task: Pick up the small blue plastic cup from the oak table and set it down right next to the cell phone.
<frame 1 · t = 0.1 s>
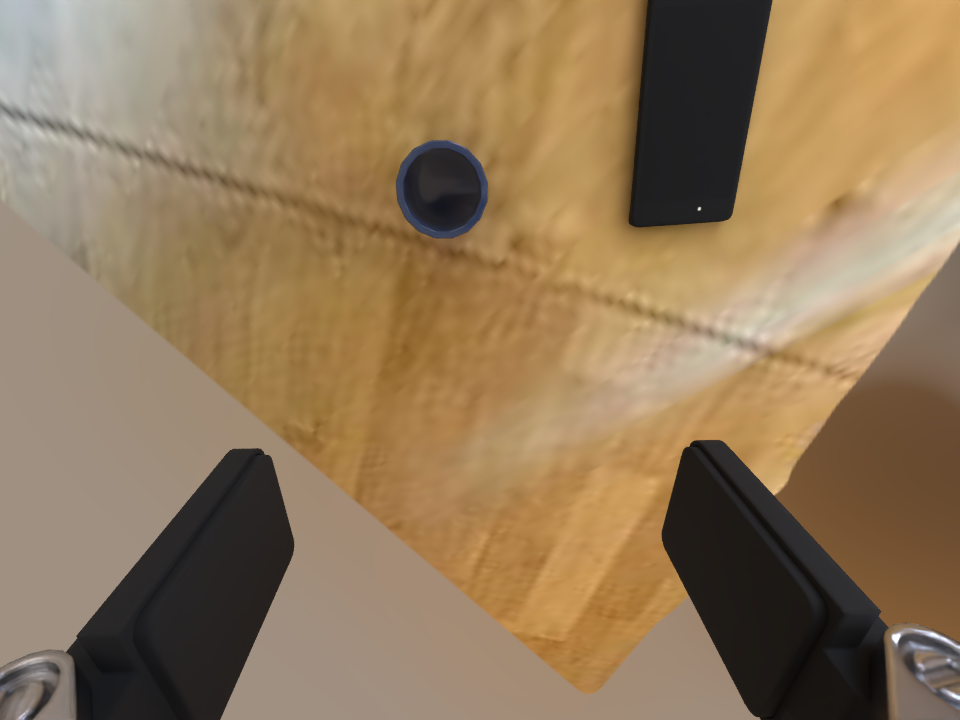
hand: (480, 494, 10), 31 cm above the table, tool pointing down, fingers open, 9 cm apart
blue plastic cup: (445, 187, 35), on the table
cell phone: (690, 106, 33), on the table
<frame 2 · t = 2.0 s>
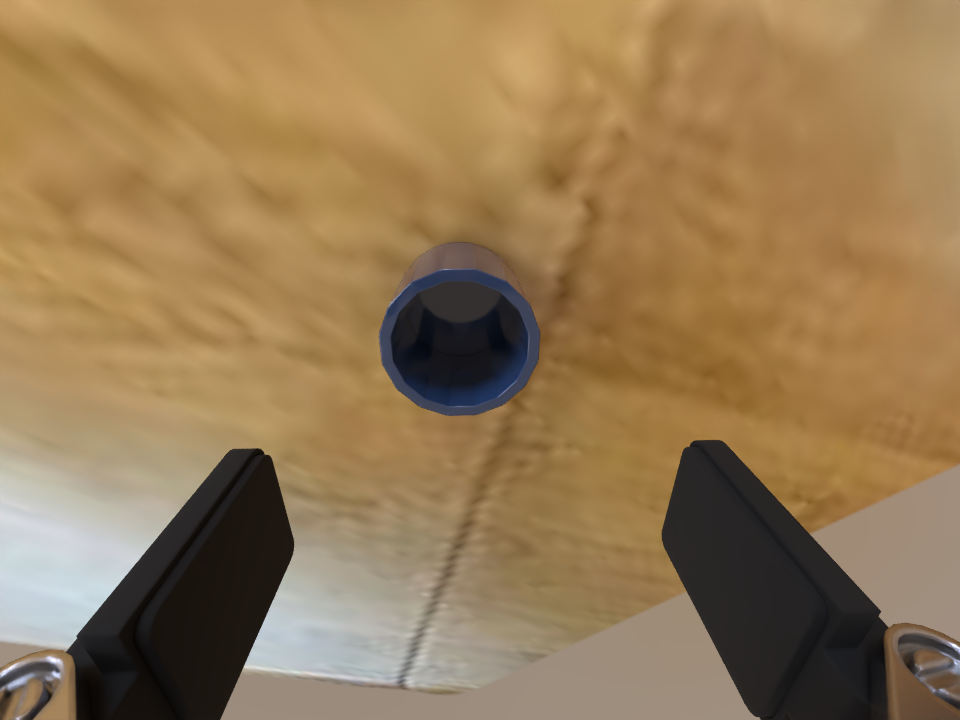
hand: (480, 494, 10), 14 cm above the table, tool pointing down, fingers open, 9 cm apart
blue plastic cup: (460, 304, 23), on the table
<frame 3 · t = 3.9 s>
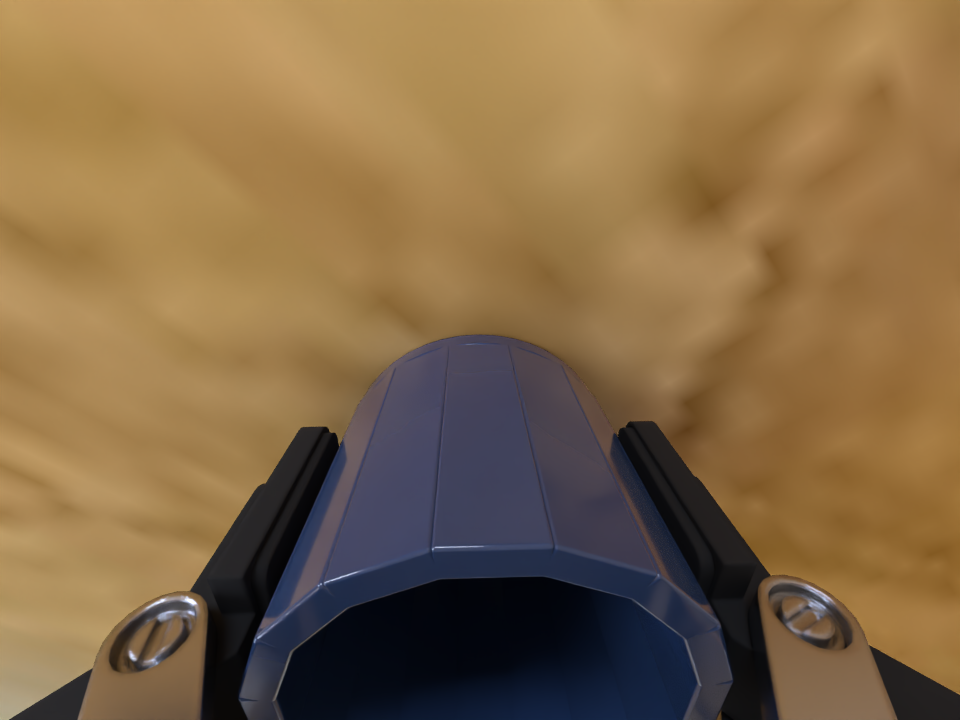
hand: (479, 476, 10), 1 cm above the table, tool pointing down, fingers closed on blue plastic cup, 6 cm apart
blue plastic cup: (478, 447, 11), on the table, touching gripper
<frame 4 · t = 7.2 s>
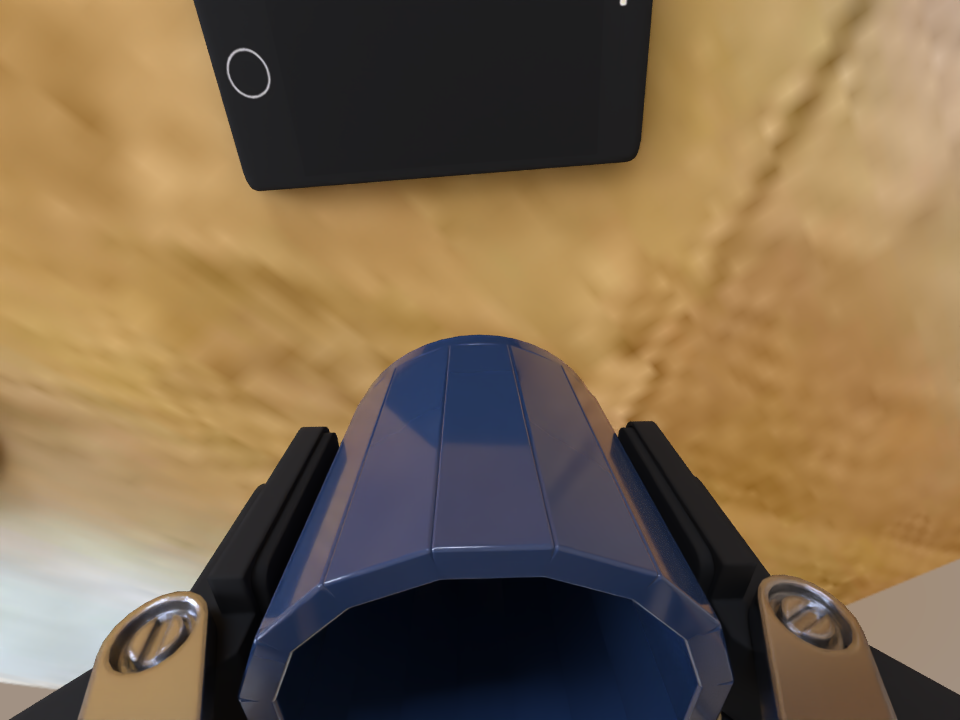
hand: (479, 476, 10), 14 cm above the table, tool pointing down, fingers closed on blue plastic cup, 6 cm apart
blue plastic cup: (478, 447, 11), point 13 cm above the table, touching gripper
cell phone: (434, 65, 18), on the table
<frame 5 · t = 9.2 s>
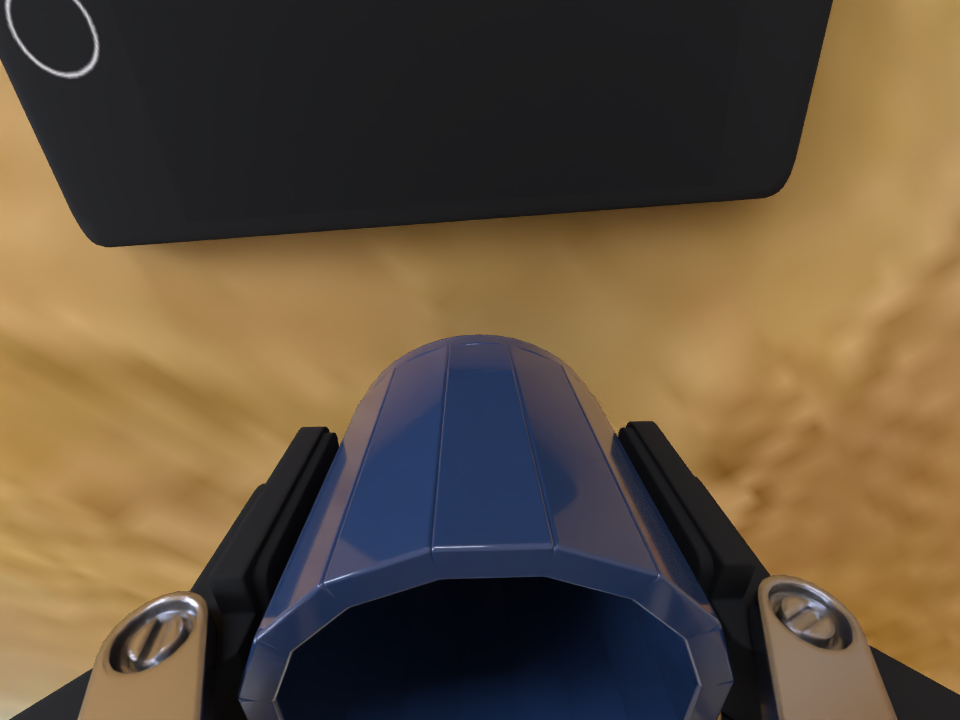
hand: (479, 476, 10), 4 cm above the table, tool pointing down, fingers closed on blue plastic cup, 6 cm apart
blue plastic cup: (478, 447, 11), point 3 cm above the table, touching gripper
cell phone: (421, 19, 10), on the table
when the fingers open (1 cm above the table, at t = 10.5 s): blue plastic cup stays where it is, on the table.
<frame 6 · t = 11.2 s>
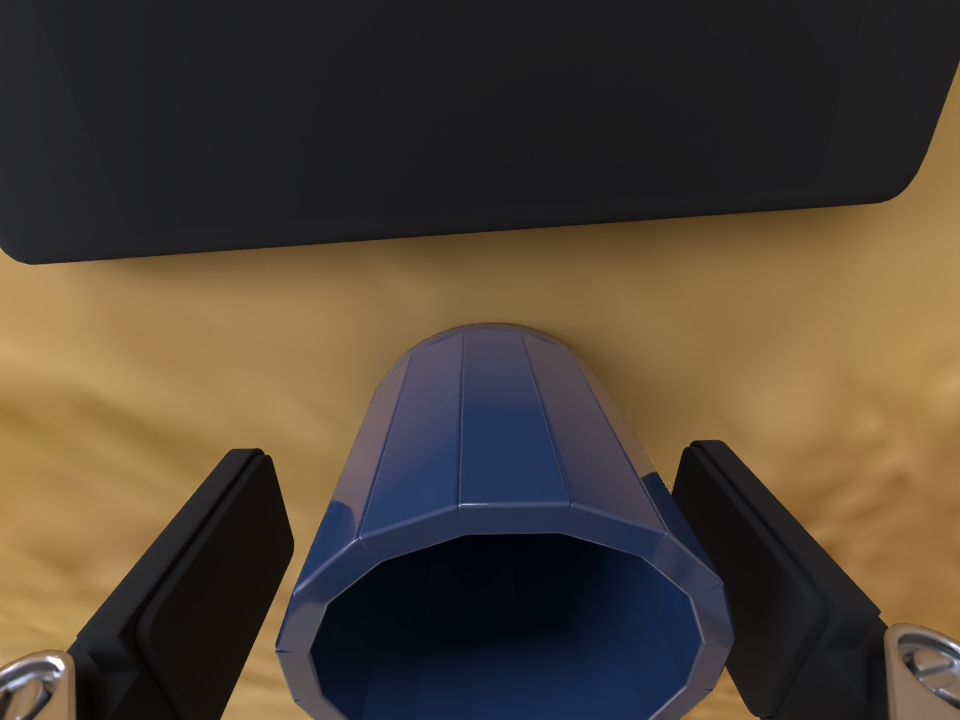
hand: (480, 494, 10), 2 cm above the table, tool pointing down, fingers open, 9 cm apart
blue plastic cup: (489, 433, 12), on the table
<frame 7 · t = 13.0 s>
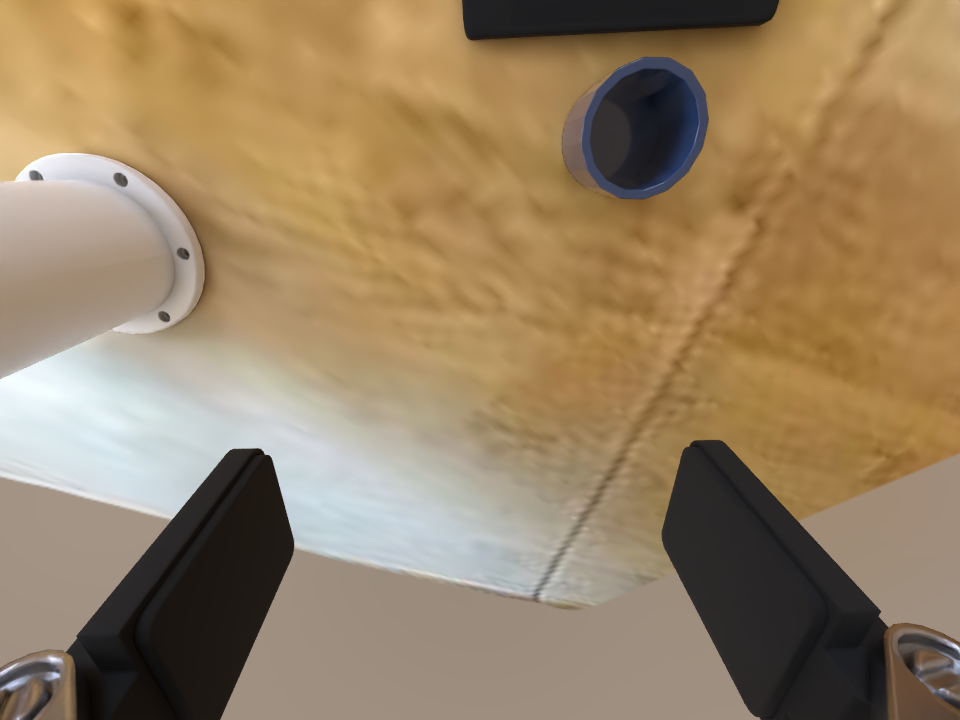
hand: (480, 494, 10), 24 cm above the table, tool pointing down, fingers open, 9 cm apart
blue plastic cup: (611, 138, 27), on the table
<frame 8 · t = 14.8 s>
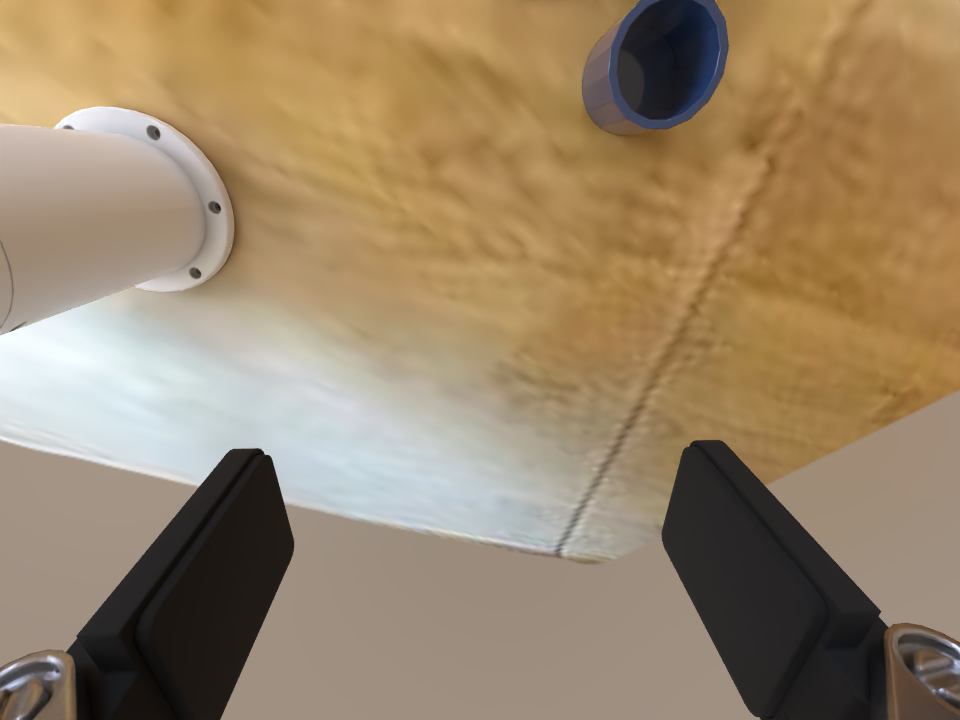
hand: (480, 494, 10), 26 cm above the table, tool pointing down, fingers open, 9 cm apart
blue plastic cup: (629, 80, 28), on the table
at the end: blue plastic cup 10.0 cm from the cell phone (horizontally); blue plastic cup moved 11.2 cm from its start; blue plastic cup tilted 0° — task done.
